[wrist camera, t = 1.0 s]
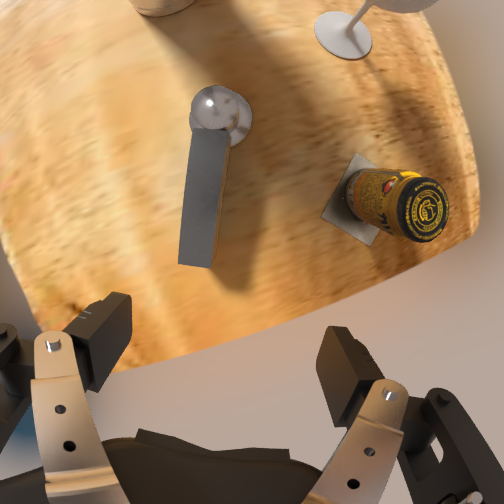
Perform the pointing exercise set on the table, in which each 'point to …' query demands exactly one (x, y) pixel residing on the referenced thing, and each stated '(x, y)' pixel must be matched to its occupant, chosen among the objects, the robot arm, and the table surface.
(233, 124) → the swing arm
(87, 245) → the table surface
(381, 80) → the table surface
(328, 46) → the wineglass
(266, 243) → the table surface
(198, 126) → the swing arm mount
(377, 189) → the condiment
